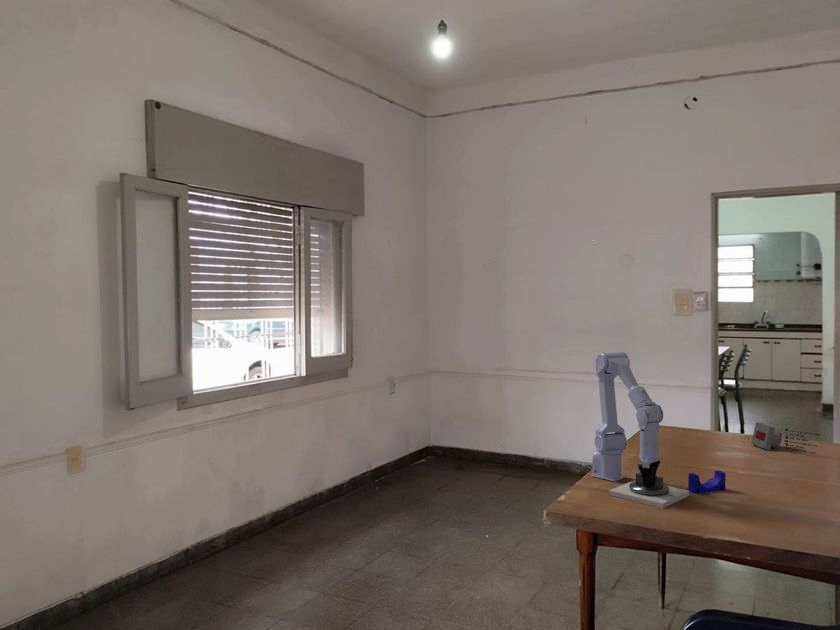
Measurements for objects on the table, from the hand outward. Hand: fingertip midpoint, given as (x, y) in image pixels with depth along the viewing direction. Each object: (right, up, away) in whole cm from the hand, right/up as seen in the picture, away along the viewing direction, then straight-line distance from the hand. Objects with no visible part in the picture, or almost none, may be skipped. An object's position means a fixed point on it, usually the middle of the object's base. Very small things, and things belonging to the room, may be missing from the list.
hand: (649, 485), depth 206 cm
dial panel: (0, -3, 0) cm, 3 cm away
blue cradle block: (+20, -3, +5) cm, 21 cm away
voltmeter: (+75, -1, +57) cm, 94 cm away
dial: (0, -2, 0) cm, 2 cm away
